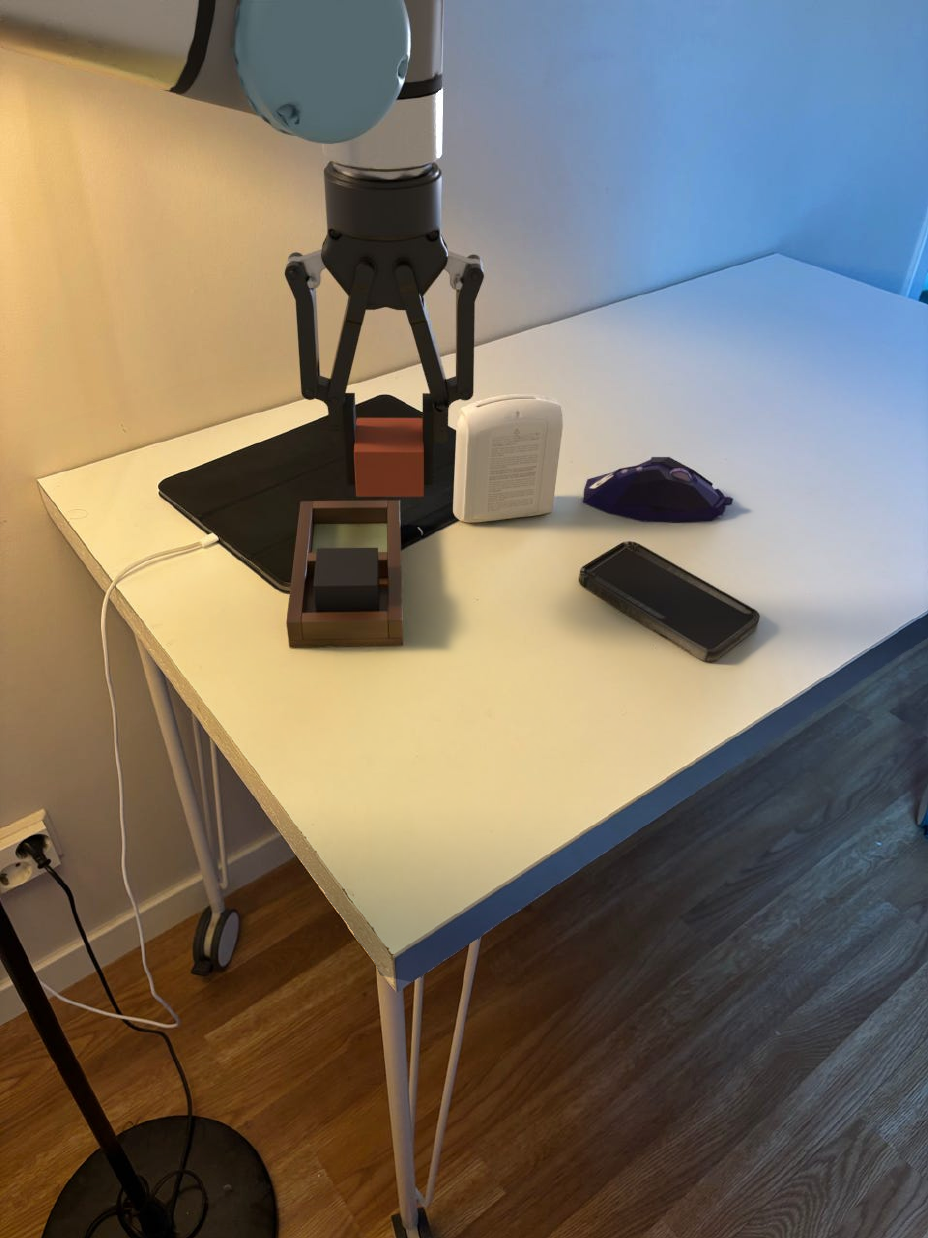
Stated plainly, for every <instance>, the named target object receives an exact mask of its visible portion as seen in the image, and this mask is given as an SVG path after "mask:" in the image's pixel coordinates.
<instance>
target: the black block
mask: <svg viewBox="0 0 928 1238" xmlns="http://www.w3.org/2000/svg"><path fill="white" fill-rule="evenodd" d="M313 587H314V598H315V609H316V613H322V612H378V611H379V565H378V548H317V552H316V563H315V574H314V585H313Z"/></svg>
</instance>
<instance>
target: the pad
mask: <svg viewBox="0 0 928 1238" xmlns="http://www.w3.org/2000/svg"><path fill="white" fill-rule="evenodd" d="M354 463H355V482H356V485H355V496H356V497H357V498H382V497H384V498H389V497H390V498H424V494H425V492H424V491H425V488H424V487H425V485H424V444H423V417H356V436H355V445H354Z"/></svg>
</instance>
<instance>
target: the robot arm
mask: <svg viewBox="0 0 928 1238" xmlns="http://www.w3.org/2000/svg"><path fill="white" fill-rule="evenodd" d="M444 13H445V0H0V50H1V51H5V52H9V53H13V54H18V55H21V56H25V57H26V56H27V57H28V58H29V57H30V58H33V59H37V60H41V61H45V62H50V63H53V64H58V65H62V66H66V67H69V68H74V69H79V70H82V71H85V72H90V73H94V74H98V75H102V76H105V77H110V78H114V79H118V80H123V81H127V82H130V83H135V84H138V85H142V86H147V87H150V88H155V89H159V90H162V91H165V92H168V93H172V94H175V95H178V96H181V97H184V98H187V99H190V100H194V101H199V102H202V103H207V104H211V105H214V106H215V105H216V106H218V107H223V108H227V109H230V110H234V111H238V112H243V113H247V114H250V115H253V116H255V117H256V116H257V117H259V118H261V119H262V121H264V122H265V123H267V124H268V125H269V126H270V127H271V128H272V129H274V130H276V131H277V132H279V133H282V134H283V135H284V134H285V135H288V136H291V137H292V136H293V137H298V138H299V139H302V140H305V141H308V142H311V143H315V144H321V150H322V155H323V156H324V157H325V158H326V159H328V160H329V162H328V163H327V165H326V166H325V167H324V169H323V183H324V198H325V200H324V201H325V215H326V216H325V217H326V236H325V238H324V240H323V241H322V245H321V249H318V250H315V251H312V252H310V253H306V254H302V253H301V252H297V251H295V252H292V253H290V254H289V256H288V258H287V261H286V265H285V269H284V277H285V279H286V283H287V284H288V286H289V289H290V291H291V293H292V296H293V299H294V300H295V313H296V314H295V315H296V331H297V332H296V333H297V345H298V346H297V347H298V363H299V375H300V376H299V379H300V393H301V396H302V397H303V398H304V399H306V400H307V401H313V400H318V401H320V402H322V403H324V404H325V406H326V408H327V416H328V429H329V430H328V433H329V438H330V440H331V442H332V443H333V444H344V451H345V467H346V469H345V470H346V485H347V486H356V482H355V463H354V445H355V436H356V421H357V412H356V411H357V410H356V409H357V408H356V393H355V392H347V389H348V383H349V380H350V376H351V372H352V367H353V363H354V359H355V355H356V352H357V351H356V350H357V346H358V343H359V338H360V334H361V330H362V326H363V323H364V320H365V315H366V311H375V310H381V309H383V308H388V309H390V310H391V309H392V310H395V311H405V314H406V318H407V321H408V324H409V326H410V328H411V332H412V335H413V339H414V342H415V346H416V350H417V353H418V357H419V359H420V363H421V367H422V371H423V373H424V377H425V381H426V384H427V387H428V390H429V392H422V418H423V444H424V486H433V475H434V474H433V469H434V468H433V466H434V464H433V463H434V461H433V460H434V444H446V443H447V441H448V438H449V410H450V406H451V405H452V404H453V403H454V402H456V401H459V400H461V401H464V402H465V401H469V400H471V399H472V398H473V396H474V391H475V390H474V388H475V387H474V382H475V381H474V380H475V318H476V316H475V315H476V314H475V311H476V310H475V309H476V307H475V306H476V300H477V297H478V295H479V293H480V290H481V287H482V284H483V282H484V279H485V272H484V266H483V261H482V258H481V256H479V255H477V254H475V253H474V254H470V255H468V256H464V255H461V254H458V253H455V252H452V251H450V250H448V245H447V243H446V241H445V240H444V238H443V234H442V186H443V181H442V179H443V173H442V170H441V168H440V167H439V165H438V164H437V163H436V162H437V161H438V160H439V159H440V158H441V156H442V155H443V117H444V116H443V115H444V113H443V111H444V109H443V108H444V107H443V106H444V85H443V66H444V65H443V64H444V63H443V60H444V17H445V15H444ZM325 269H326V270H327V271H328V272H329V274H330V275H331V277H332V278H333V279H334V280H335V281H336V282H337V284H338V285H339V287H340V288H341V289H342V290H343V291H344V293H345V294H346V295H347V301H346V307H345V311H344V315H343V320H342V324H341V329H340V334H339V338H338V341H337V347H336V351H335V355H334V360H333V364H332V369H331V371H330V377H325V376H322V375H321V363H320V345H319V344H320V343H319V342H320V341H319V324H318V321H319V320H318V306H317V305H318V304H317V303H318V302H317V301H318V300H317V290H316V289H317V288H319V287H320V285H321V282H322V272H323V270H325ZM443 271H446V272H447V273H448V275H449V277H448V278H449V285H450V287H451V289H453V290H455V376H452V377H449V378H447V377H446V374H445V370H444V369H445V368H444V365H443V362H442V359H441V355H440V351H439V348H438V343H437V340H436V337H435V331H434V329H433V325H432V322H431V318H430V313H429V310H428V307H427V301H426V297H425V294H427V292H428V291H429V289H430V288H431V287H432V286H433V285H434V283H435V281H437V279H438V277H440V276H441V274H442V272H443Z"/></svg>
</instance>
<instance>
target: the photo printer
mask: <svg viewBox="0 0 928 1238" xmlns="http://www.w3.org/2000/svg"><path fill="white" fill-rule="evenodd" d="M563 421H564V419H563V411H562V406H561V404H560V403H558V401H557V399H555V398H552V397H549V396H545V395H539V394H530V393H529V394H528V393H527V394H526V393H524V394H523V393H513V394H504V395H497V396H492V397H488V398H484V399H481V400H477V401H474V402H471V403H469V404H468V405H465V406H463V407H461V408H460V409H459V412H458V414H457V424H456V432H455V455H454V456H455V457H454V477H453V478H454V479H453V498H452V499H453V500H452V513H453V515H454V517H455V518H456V519H457V520H459V522H462V523H482V522H492V521H500V520H507V519H517V518H524V517H533V516H538V515H540V516H541V515H545V514H550V513H551V512H552V511H553V507H554V501H555V492H556V484H557V475H558V468H559V458H560V451H561V444H562V434H563V427H564V426H563V425H564V423H563Z"/></svg>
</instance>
